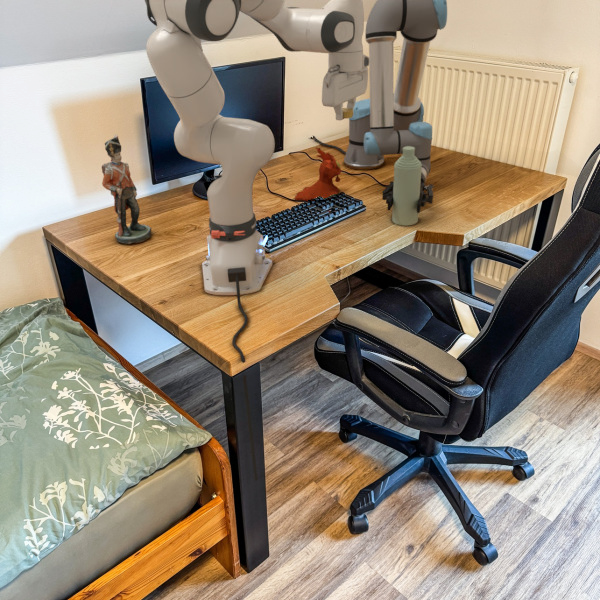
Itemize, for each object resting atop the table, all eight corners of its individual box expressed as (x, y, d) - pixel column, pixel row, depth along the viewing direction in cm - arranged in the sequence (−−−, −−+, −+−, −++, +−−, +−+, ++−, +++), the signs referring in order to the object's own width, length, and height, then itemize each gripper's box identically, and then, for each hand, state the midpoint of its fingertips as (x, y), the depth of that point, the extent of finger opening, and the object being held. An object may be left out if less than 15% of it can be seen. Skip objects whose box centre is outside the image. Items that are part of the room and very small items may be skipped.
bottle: (408, 213, 176) (412, 142, 164) (423, 222, 170) (428, 149, 158) (387, 218, 173) (389, 146, 162) (401, 227, 167) (404, 153, 156)
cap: (337, 114, 154) (337, 107, 153) (354, 114, 153) (354, 107, 152) (334, 118, 150) (334, 111, 150) (351, 118, 149) (351, 111, 149)
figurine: (142, 245, 163) (121, 143, 147) (109, 243, 165) (84, 142, 149) (157, 230, 172) (139, 131, 156) (125, 228, 174) (104, 131, 158)
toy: (349, 195, 190) (350, 151, 182) (303, 205, 184) (301, 160, 176) (331, 183, 200) (331, 141, 192) (287, 193, 194) (284, 150, 186)
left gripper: (338, 69, 136) (337, 127, 143) (372, 57, 151) (370, 110, 158) (315, 68, 139) (315, 125, 146) (351, 56, 154) (350, 108, 161)
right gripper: (445, 193, 182) (438, 222, 163) (381, 189, 187) (368, 216, 169) (447, 171, 178) (440, 198, 159) (382, 167, 183) (368, 192, 165)
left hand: (344, 117), depth 152 cm, fingers closed on cap, 4 cm apart
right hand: (403, 207), depth 164 cm, fingers closed on bottle, 8 cm apart
